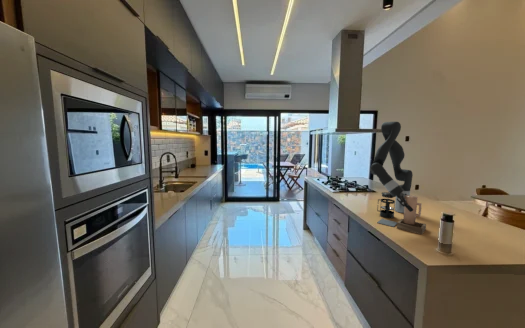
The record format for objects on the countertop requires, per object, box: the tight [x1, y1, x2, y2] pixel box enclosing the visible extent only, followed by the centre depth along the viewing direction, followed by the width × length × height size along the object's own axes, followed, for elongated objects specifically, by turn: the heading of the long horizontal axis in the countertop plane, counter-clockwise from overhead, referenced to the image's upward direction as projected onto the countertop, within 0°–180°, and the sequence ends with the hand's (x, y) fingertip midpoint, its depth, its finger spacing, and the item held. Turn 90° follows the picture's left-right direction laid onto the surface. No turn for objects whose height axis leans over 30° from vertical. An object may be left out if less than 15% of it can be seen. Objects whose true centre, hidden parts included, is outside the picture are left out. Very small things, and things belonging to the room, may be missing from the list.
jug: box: [402, 194, 423, 225], centre depth 141 cm, size 6×9×17 cm
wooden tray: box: [396, 218, 427, 235], centre depth 142 cm, size 11×13×4 cm
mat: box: [376, 218, 398, 228], centre depth 151 cm, size 10×10×1 cm
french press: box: [376, 190, 396, 219], centre depth 165 cm, size 12×9×23 cm
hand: (413, 209), depth 140 cm, fingers closed on jug, 6 cm apart
